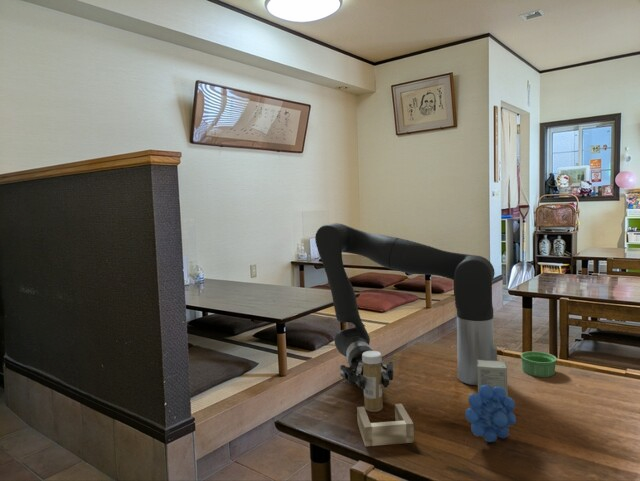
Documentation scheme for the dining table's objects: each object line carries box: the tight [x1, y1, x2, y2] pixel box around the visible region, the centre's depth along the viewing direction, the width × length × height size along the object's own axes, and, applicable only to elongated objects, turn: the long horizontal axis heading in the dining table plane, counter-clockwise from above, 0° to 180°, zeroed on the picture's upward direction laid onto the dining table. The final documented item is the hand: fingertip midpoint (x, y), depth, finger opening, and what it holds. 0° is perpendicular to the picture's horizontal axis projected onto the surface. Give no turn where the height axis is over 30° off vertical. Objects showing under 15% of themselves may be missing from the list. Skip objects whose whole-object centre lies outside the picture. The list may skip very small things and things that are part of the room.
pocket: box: [356, 403, 415, 447], centre depth 94 cm, size 10×9×4 cm
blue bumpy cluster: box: [465, 385, 517, 443], centre depth 88 cm, size 12×7×12 cm, turn 107°
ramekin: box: [520, 350, 558, 378], centre depth 123 cm, size 9×9×4 cm
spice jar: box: [362, 350, 384, 413], centre depth 105 cm, size 5×5×14 cm
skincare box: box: [477, 360, 509, 397], centre depth 99 cm, size 6×4×12 cm
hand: (374, 384), depth 102 cm, fingers open, 4 cm apart
